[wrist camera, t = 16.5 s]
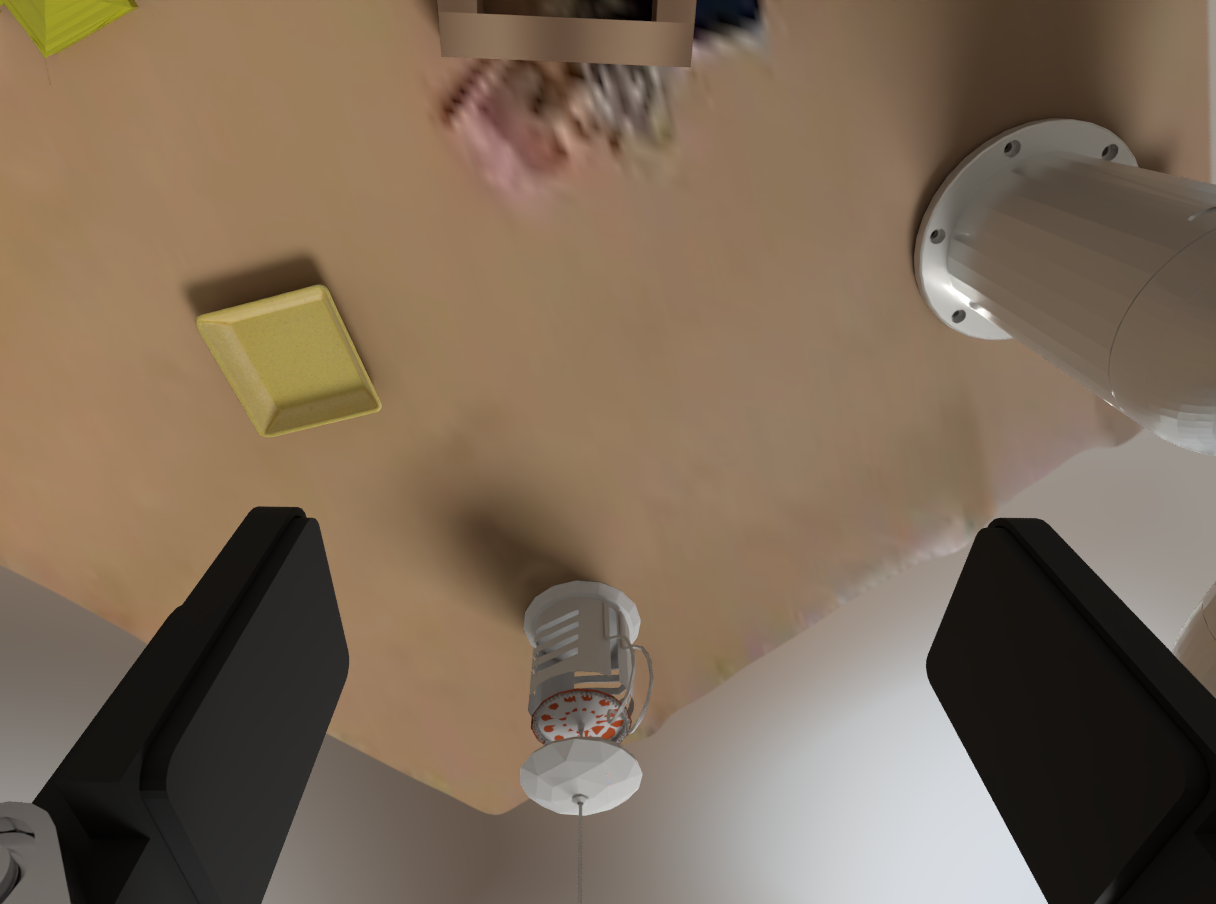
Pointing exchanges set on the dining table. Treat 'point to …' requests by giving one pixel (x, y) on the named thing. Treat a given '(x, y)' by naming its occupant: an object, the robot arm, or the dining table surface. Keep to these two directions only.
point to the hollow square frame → (569, 35)
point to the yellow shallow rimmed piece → (290, 361)
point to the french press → (582, 700)
